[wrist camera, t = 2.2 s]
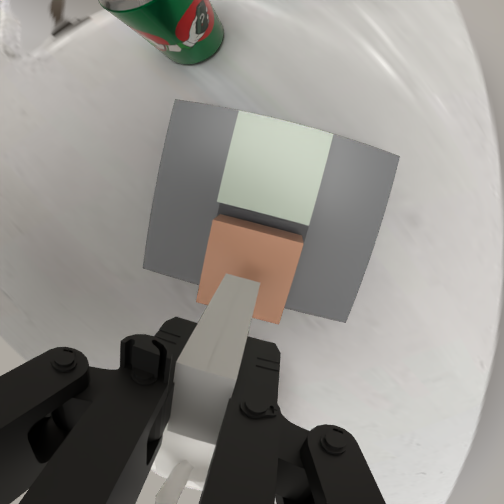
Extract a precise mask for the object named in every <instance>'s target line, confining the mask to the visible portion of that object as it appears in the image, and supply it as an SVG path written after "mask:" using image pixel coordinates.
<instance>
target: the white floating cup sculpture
mask: <svg viewBox="0 0 504 504" xmlns="http://www.w3.org/2000/svg"><path fill="white" fill-rule="evenodd" d="M167 427H168V423H167V426H166V428H165V430H164V432H163V438H162V444H161V447H160V449H159V451H158V453H157V456H156V458H155V460H154V462H153V465H152V467H151V469H150V470H151V471H153V472H154V473H156V474H158V475H160V476H162V477H163V478H165V479H167V480H166V482H165V483H164V485H163V486H162V488H161V489H160V490H159V492H158V493H157V495H156V501H155V504H177V502H178V499H179V497H180V495H181V493H182V491H183V489H184V487H186V488H190V489H195V490H199V491H203V487H204V484H205V480H206V477H207V473H208V469H209V466H210V462H211V459H212V456H213V452H214V449H215V446H216V445H213V444H209V443H206V442H202V441H199V440H195V439H192V438H189V437H186V436H183V435H179V434H176V433H173V432H170V431H167Z"/></svg>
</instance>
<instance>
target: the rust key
mask: <svg viewBox="0 0 504 504" xmlns="http://www.w3.org/2000/svg"><path fill="white" fill-rule="evenodd" d="M303 244H304V243H303V238H302V235H298V234H295V233H291V232H287V231H284V230H280V229H276V228H272V227H268V226H265V225H261V224H257V223H253V222H249V221H246V220H242V219H238V218H234V217H230V216H226V215H222V214H220V215H218V216H217V217H216V218H214V219H213V221H212V226H211V231H210V235H209V240H208V245H207V249H206V254H205V259H204V264H203V269H202V274H201V279H200V284H199V289H198V294H197V300H196V302H198V303H202V304H205V305H208V304H209V303H210V301H211V299H212V297H213V295H214V294H215V292H216V290H217V288H218V287H219V285H220V283H221V281H222V280H223V278H224V276H225V274H226V273H227V274H230V275H234V276H238V277H241V278H245V279H249V280H252V281H256V282H260V287H259V291H258V295H257V299H256V303H255V307H254V312H253V316H252V318H256V319H260V320H264V321H267V322H271V323H275V324H279V322H280V319H281V316H282V313H283V310H284V307H285V303H286V300H287V297H288V294H289V291H290V287H291V284H292V281H293V278H294V274H295V271H296V268H297V265H298V261H299V258H300V255H301V251H302V248H303Z"/></svg>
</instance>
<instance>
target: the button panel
mask: <svg viewBox="0 0 504 504" xmlns="http://www.w3.org/2000/svg"><path fill="white" fill-rule="evenodd" d="M240 111H241V110H240ZM238 112H239V110H236V109H231V108H226V107H220V106H215V105H209V104H203V103H197V102H190V101H184V100H177V99H175V102H174V106H173V110H172V114H171V118H170V122H169V126H168V130H167V135H166V139H165V143H164V148H163V152H162V157H161V162H160V167H159V172H158V177H157V182H156V187H155V192H154V198H153V204H152V209H151V215H150V222H149V228H148V235H147V241H146V248H145V256H144V263H143V268H144V269H147V270H150V271H153V272H157V273H160V274H163V275H167V276H170V277H173V278H177V279H180V280H184V281H187V282H190V283H194V284H197V285H199V284H200V279H201V274H202V269H203V264H204V259H205V254H206V249H207V245H208V240H209V235H210V231H211V226H212V221H213V219H214V218H216V217H217V216H218V215H220V214H222V215H226V216H230V217H234V218H238V219H242V220H246V221H249V222H253V223H257V224H261V225H265V226H268V227H272V228H276V229H280V230H284V231H287V232H291V233H295V234H298V235H302V238H303V243H304V244H303V248H302V251H301V255H300V258H299V261H298V265H297V268H296V271H295V274H294V278H293V281H292V284H291V287H290V291H289V294H288V297H287V300H286V303H285V307H284V308H286V309H290V310H294V311H298V312H302V313H306V314H310V315H315V316H319V317H323V318H327V319H331V320H335V321H340V322H344V323H346V321H347V318H348V316H349V313H350V311H351V308H352V306H353V303H354V300H355V298H356V295H357V293H358V290H359V287H360V285H361V282H362V279H363V276H364V274H365V271H366V268H367V265H368V262H369V259H370V256H371V253H372V250H373V247H374V244H375V241H376V238H377V235H378V232H379V229H380V226H381V222H382V219H383V216H384V213H385V209H386V206H387V202H388V199H389V195H390V192H391V188H392V185H393V181H394V177H395V173H396V170H397V166H398V162H399V158H400V156H398V155H395V154H392V153H390V152H387V151H384V150H381V149H379V148H376V147H373V146H370V145H367V144H364V143H361V142H358V141H355V140H352V139H349V138H346V137H342V136H339V135H336V134H333V133H332V134H333V138H332V142H331V146H330V150H329V154H328V158H327V162H326V165H325V169H324V173H323V177H322V180H321V184H320V188H319V191H318V195H317V199H316V202H315V206H314V210H313V213H312V217H311V220H310V224H309V226H308V225H304V224H301V223H297V222H293V221H290V220H286V219H282V218H278V217H275V216H271V215H267V214H263V213H259V212H256V211H252V210H248V209H244V208H240V207H236V206H232V205H228V204H224V203H220V202H217V199H218V194H219V190H220V186H221V181H222V177H223V173H224V169H225V164H226V160H227V156H228V152H229V148H230V144H231V140H232V136H233V132H234V128H235V124H236V120H237V116H238ZM245 112H246V111H245ZM250 113H251V112H250ZM254 114H255V113H254ZM259 115H260V114H259ZM263 116H264V115H263ZM268 117H269V116H268ZM272 118H273V117H272ZM276 119H277V118H276ZM280 120H281V119H280ZM284 121H285V120H284ZM288 122H289V121H288ZM292 123H293V122H292ZM296 124H297V123H296ZM300 125H301V124H300ZM304 126H305V125H304ZM307 127H308V126H307ZM311 128H312V127H311ZM318 130H319V129H318ZM325 132H326V131H325ZM328 133H329V132H328Z"/></svg>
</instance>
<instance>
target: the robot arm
mask: <svg viewBox="0 0 504 504" xmlns="http://www.w3.org/2000/svg"><path fill="white" fill-rule="evenodd" d="M259 287H260V282H256V281H252V280H249V279H245V278H241V277H238V276H234V275H230V274H227V273H226V274H225V276H224V278H223V280H222V281H221V283H220V285H219V287H218V288H217V290H216V292H215V294H214V295H213V297H212V299H211V301H210V303H209V304H208V306H207V308H206V310H205V311H204V313H203V315H202V317H201V319H200V320H199V322H198V323H195V322H191V321H188V320H185V319H182V318H178V317H174V318H172V319H170V320H168V321H166V322H165V323H164V324H163V325H162V327H161V328H160V329H159V331H158V332H157V333H156V335H155V336H150V335H146V334H135V335H132V336H128V337H126V338H124V339H123V340H121V348H120V367H119V369H118V370H108V369H101V368H95V367H90V366H89V363H88V360H87V357H86V356H85V355H84V354H83V353H82V352H80V351H78V350H76V349H73V348H68V347H57V348H54V349H51V350H48V351H46V352H45V353H43V354H41V355H39V356H37V357H35V358H33V359H31V360H30V361H28V362H26V363H24V364H22V365H20V366H19V367H17V368H15V369H13V370H11V371H9V372H7V373H6V374H4V375H2V376H0V504H10V503H11V502H12V501H14V500H15V499H16V498H18V497H19V496H20V495H21V494H23V493H24V492H25V491H26V490H28V489H29V490H28V491H27V493H26V494H25V495H24V497H23V499H22V500H21V501H20V503H19V504H135V503H136V501H137V498H138V496H139V494H140V492H141V489H142V487H143V485H144V483H145V480H146V478H147V476H148V473H149V471H150V469H151V467H152V465H153V462H154V460H155V458H156V456H157V453H158V451H159V449H160V447H161V444H162V438H163V432H164V430H165V428H166V426H167V423H168V427H167V431H170V432H173V433H176V434H179V435H183V436H186V437H189V438H192V439H195V440H199V441H202V442H206V443H209V444H213V445H216V446H215V449H214V452H213V456H212V459H211V462H210V466H209V469H208V473H207V477H206V480H205V484H204V487H203V491H202V494H201V497H200V501H199V504H274V502H275V498H276V503H277V504H386V503H385V501H384V499H383V497H382V494H381V492H380V490H379V488H378V486H377V484H376V482H375V479H374V477H373V475H372V473H371V471H370V469H369V467H368V464H367V462H366V460H365V458H364V456H363V454H362V452H361V450H360V447H359V445H358V443H357V441H356V440H355V438H354V437H353V436H352V434H350V433H349V432H347V431H346V430H345V429H343V428H340V427H338V426H335V425H327V424H325V425H320V426H316V427H315V428H313V429H312V430H311V431H308V430H306V429H303V428H301V427H299V426H297V425H295V424H293V423H291V422H290V421H288V420H287V419H286V418H285V417H284V416H283V415H282V414H281V411H280V407H279V406H278V404H277V398H278V384H279V369H280V365H279V364H280V351H279V350H278V348H277V346H276V344H275V343H271V342H267V341H263V340H259V339H255V338H252V337H248V332H249V328H250V324H251V320H252V316H253V312H254V307H255V303H256V299H257V295H258V291H259Z"/></svg>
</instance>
